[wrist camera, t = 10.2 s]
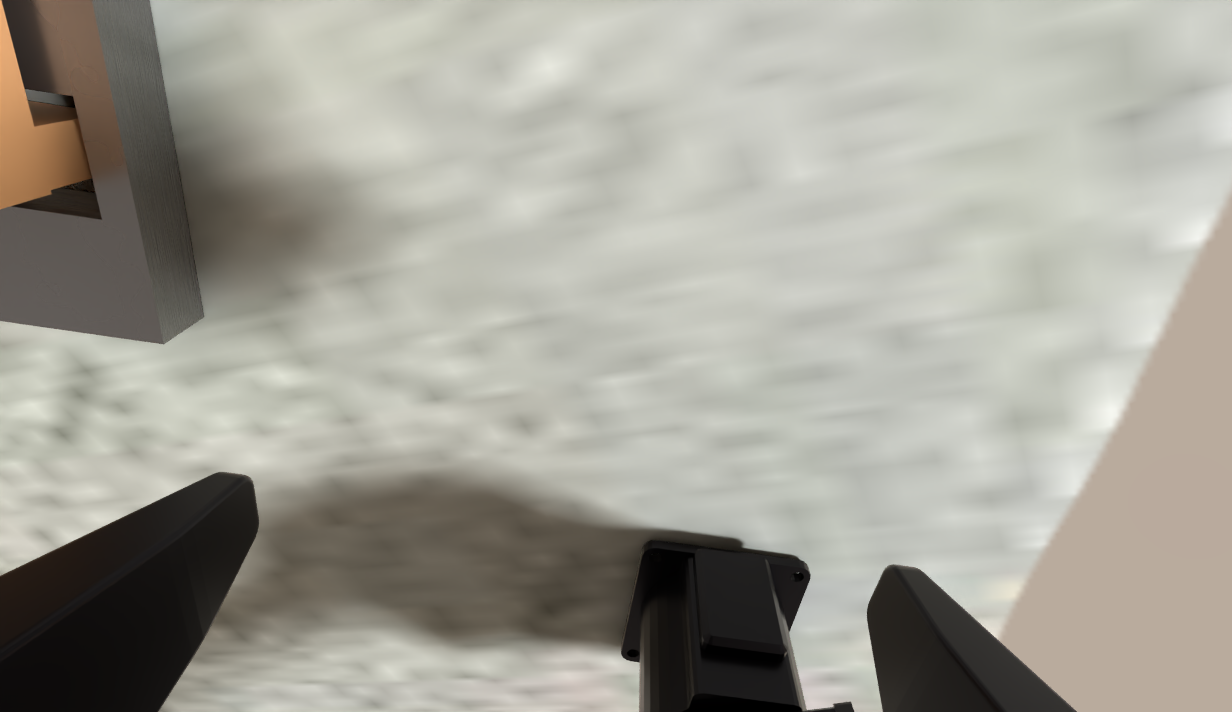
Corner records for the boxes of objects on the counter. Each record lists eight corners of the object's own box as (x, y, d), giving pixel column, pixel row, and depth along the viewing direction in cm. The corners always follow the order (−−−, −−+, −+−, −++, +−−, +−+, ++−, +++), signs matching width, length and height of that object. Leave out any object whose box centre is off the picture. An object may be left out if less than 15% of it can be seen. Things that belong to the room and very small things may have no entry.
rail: (203, 316, 21) (164, 344, 20) (18, 290, 21) (-39, 315, 19) (87, -359, 14) (4, -415, 12) (-201, -409, 14) (-327, -472, 12)
